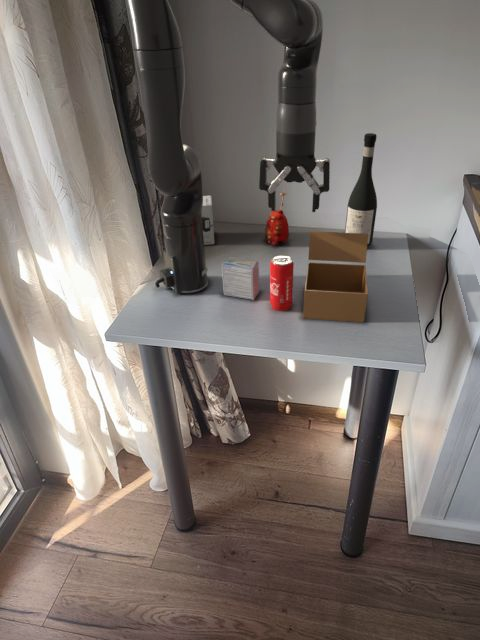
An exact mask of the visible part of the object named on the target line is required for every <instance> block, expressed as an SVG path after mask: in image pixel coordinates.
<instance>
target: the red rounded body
mask: <svg viewBox="0 0 480 640" xmlns="http://www.w3.org/2000/svg"><path fill="white" fill-rule="evenodd" d="M286 192H287V189H285V190H284V192H280V197H281V202H280V209H279V210H277V209H275V211H271V213H270V214H269V217H268V219H267V220H266V225H265V228H264V236H265V239H264V240H265V241H266V242H267V243H268V244H269V245H271V246H275V247H277V246H278V245H284V244H285V243H287V241H288V240H289V237H290V229H289V227H290V226H289V222H288V219H287V217H286V215H285V213H284V211H283V206H284V198H285V195H287V194H288V193H286Z"/></svg>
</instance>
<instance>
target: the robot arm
mask: <svg viewBox="0 0 480 640" xmlns="http://www.w3.org/2000/svg"><path fill="white" fill-rule="evenodd" d="M124 1H125V7H126V13H127V17H128V18H127V19H128V24H129V30H130V37H131V45H132V52H133V57H134V58H133V59H134V64H135V70H136V75H137V81H138V86H139V93H140V99H141V106H142V112H143V117H144V122H145V123H144V124H145V131H146V143H147V160H148V173H149V176H150V179H151V180H150V181H151V183H152V184H153V186H154V187H155V189H156V190H157V191H158V192H159V193H160V194H162V195H163V201H162V205H161V208H160V217H161V225H162V231H163V239H164V247H165V249H163V253H162V254H163V259H164V265H165V268H163V269H160V270H159V277H160V278H159V279H158V280H156V281H155V283H154V284H155V287H156V288H158V289H159V288H160V283H163V285H164V286H165V287H166V288H167V289H169V288H170V289H171V290H173V292H174V293H175V294H176V295H181V294H195V293H199V292H201V291H203V290H204V289H207V287H208V284H209V280H208V273H207V272H208V271H209V270H208V267H207V261H206V250H205V249H206V248H205V245H204V238H203V226H202V214H201V212H202V206H203V196H204V191H203V188H204V187H203V174H202V173H203V172H202V165H201V161H200V159H199V158H200V157H198V154H197V153H196V151H195V150H194V149H193V148H192V147H191V146H189V145H187V144H185V143H183V135H182V113H183V105H184V98H185V97H184V96H185V95H184V94H185V89H186V88H185V87H186V68H185V57H184V48H183V41H182V35H181V32H180V28H179V25H178V22H177V19H176V17H175V14H174V13H173V9H172V7H171V4H170V2H169V0H124ZM227 1H228V2H229V3H231V4H232V5H234V7H236V8H238V9H239V10H240V11H242V12H243V13H245V14H246V15H248V16H249V17H251V18H252V19H253V20H254V21H255V22H256V23H257V24H258V25H259V27H261V28H262V29H263V31H265V32H266V33H267V34H268V35H269V36H270V37H271V38H272V39H273V40H275V41H276V42H277V43H278V44H281V45H282V46H283V48H284V49H283V62H282V64H281V67H280V68H279V70H278V74H277V76H278V77H277V107H276V108H277V109H276V118H275V119H276V123H275V124H276V125H275V126H276V128H275V129H276V130H275V131H276V132H275V133H276V134H275V136H276V137H275V152H276V153H275V158H274V159H273V158H268V157H267V156H262V157H261V159H260V162H259V184H258V189H259V190H260V191H265V192H267V206H268V208H269V209H270V211H271V212H273V211H275V210H276V202H277V201H276V200H277V199H276V198H277V197H276V192H277V188H278V187H279V186H280V185H281V184H282V182H283V181H284V182H286V183H294V182H295V183H298V184H302V183H303V182H305V183H306V184H307V186H308V187H309V188H310V189H311V190H312V206H311V213H316V211H317V210H319V208H320V199H321V198H320V197H321V194H322V193H328V192H329V191H330V180H331V179H330V175H331V174H330V169H331V167H330V164H331V160H330V159H329V158H328V157H324V158H323V159H316V156H315V150H316V149H315V148H316V132H317V131H316V130H317V105H316V103H317V84H318V83H317V73H318V65H319V60H320V54H321V49H322V41H323V34H324V18H323V14H322V13H323V12H322V9H321V7H320V5H319V4H318V3H317V2H316V1H315V0H227ZM272 166H273V167H274V168H275V170H276V172H277V174H276V176H275V177H274V179H273V180H272V181H271V182H267V178H268V177H267V175H268V171H270V170H271V168H272ZM316 167H318V169H319V171H320V172H321V173H323V175H322V176H323V179H322V180H323V181H322V182H323V183H321V184H319V182H318V181H317V180H316V178H315V176H314V174H313V171H314V170H315V169H316Z"/></svg>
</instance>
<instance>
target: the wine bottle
mask: <svg viewBox="0 0 480 640" xmlns="http://www.w3.org/2000/svg"><path fill="white" fill-rule="evenodd" d="M363 141H364V142H363V143H364V144H363V151H362V152H363V153H362V161H361V169H360V173H359V176H358V179H357V181H356V183H355V185H354V186H353V189H352V191H351V192H350V196H349V199H348V202H347V209H346V219H345V228H344V233H361V234H368V244H367V248H368V247H369V246H371V245H372V243H373V239H374V231H375V224H376V218H377V210H378V209H377V208H378V196H377V193H376V188H375V184H374V180H373V161H374V153H375V146H376V142H377V134H376V133H372V132H367V133H365V134H364V137H363Z"/></svg>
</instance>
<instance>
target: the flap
mask: <svg viewBox="0 0 480 640" xmlns="http://www.w3.org/2000/svg"><path fill="white" fill-rule="evenodd" d="M367 244H368V234H361V233H345V232H339V231H338V232H337V231H336V232H335V231H317V230H316V231H314V230H313V231H311V230H310V231H309V245H308V259H307V260H308V261H323V262H342V263H343V262H344V263H361V264H363V263H364V264H366V260H367V252H368V247H367Z"/></svg>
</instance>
